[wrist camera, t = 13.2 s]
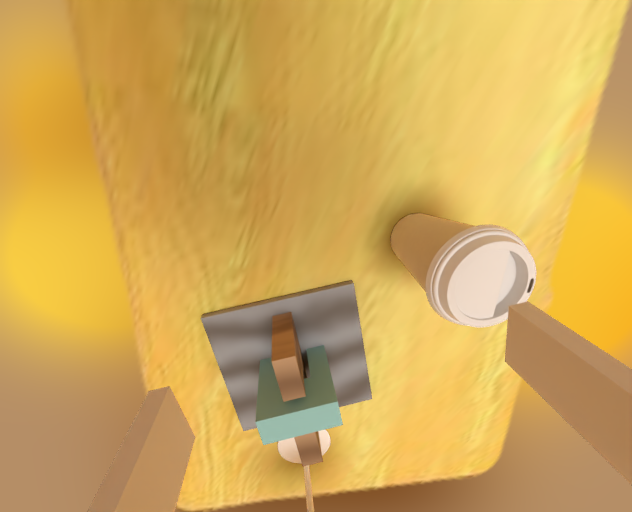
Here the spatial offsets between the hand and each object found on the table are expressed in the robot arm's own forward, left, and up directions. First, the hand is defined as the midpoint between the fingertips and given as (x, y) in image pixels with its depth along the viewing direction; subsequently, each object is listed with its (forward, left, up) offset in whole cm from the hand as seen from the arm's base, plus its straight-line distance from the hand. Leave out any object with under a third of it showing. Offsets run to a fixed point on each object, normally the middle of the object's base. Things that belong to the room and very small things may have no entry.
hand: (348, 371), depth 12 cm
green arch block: (+19, -5, -25) cm, 32 cm away
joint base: (+19, -5, -26) cm, 33 cm away
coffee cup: (+5, +14, -27) cm, 31 cm away
